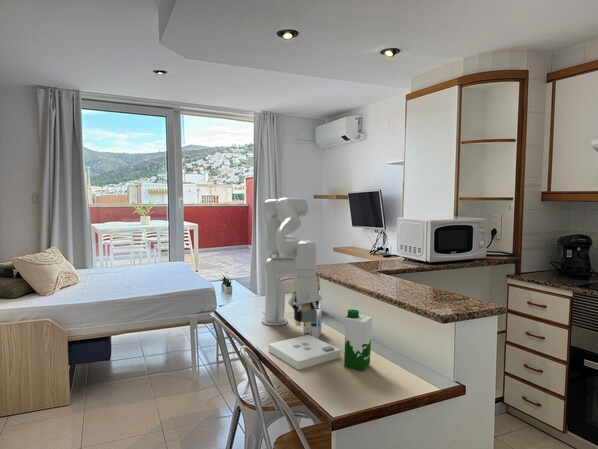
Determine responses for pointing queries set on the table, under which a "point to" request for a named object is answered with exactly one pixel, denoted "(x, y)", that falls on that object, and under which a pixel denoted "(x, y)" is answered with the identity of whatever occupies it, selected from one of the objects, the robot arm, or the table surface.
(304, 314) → the plug
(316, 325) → the light bulb box
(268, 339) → the table surface
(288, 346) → the socket
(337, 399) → the table surface
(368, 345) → the milk carton
